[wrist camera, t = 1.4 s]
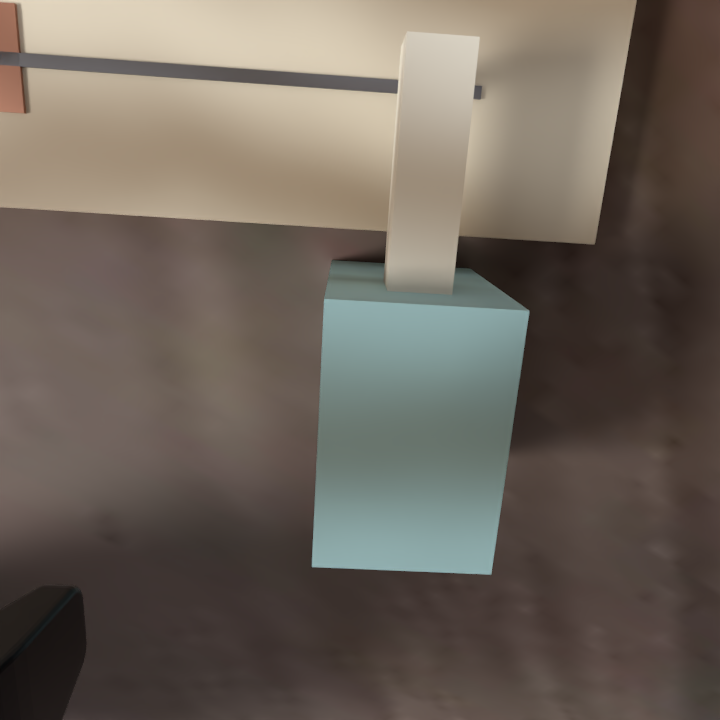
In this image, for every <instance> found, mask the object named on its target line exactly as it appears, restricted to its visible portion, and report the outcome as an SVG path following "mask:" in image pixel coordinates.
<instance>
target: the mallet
mask: <svg viewBox="0 0 720 720" xmlns="http://www.w3.org/2000/svg"><path fill="white" fill-rule="evenodd" d="M479 41H480V37H477V36H464V35H450V34H437V33H424V32H410V31H407V33H406V35H405V38H404V40H403V43H402V46H401V53H400V66H399V80H398V93H397V106H396V120H395V133H394V147H393V160H392V174H391V187H390V201H389V214H388V228H387V241H386V255H385V263H371V262H355V261H338V260H332V263H331V268H330V273H329V278H328V283H327V288H326V293H325V298H324V315H323V336H322V358H321V379H320V400H319V422H318V443H317V465H316V486H315V507H314V529H313V550H312V567H323V568H347V569H370V570H394V571H418V572H442V573H465V574H489V575H491V573H492V566H493V559H494V552H495V545H496V538H497V531H498V525H499V518H500V511H501V504H502V497H503V490H504V483H505V476H506V469H507V463H508V456H509V449H510V442H511V435H512V428H513V421H514V414H515V407H516V401H517V394H518V387H519V380H520V373H521V366H522V359H523V352H524V345H525V339H526V332H527V325H528V318H529V310H528V309H526V308H525V307H523V306H522V305H521V304H519V303H518V302H516V301H515V300H514V299H512V298H511V297H509V296H508V295H507V294H505V293H504V292H502V291H501V290H500V289H498V288H497V287H495V286H494V285H492V284H491V283H490V282H488V281H487V280H485V279H484V278H483V277H481V276H480V275H478V274H477V273H476V272H474V271H473V270H471V269H470V268H455V264H456V255H457V246H458V236H459V227H460V218H461V208H462V199H463V190H464V181H465V171H466V162H467V153H468V143H469V134H470V125H471V115H472V106H473V97H474V87H475V78H476V69H477V60H478V50H479Z"/></svg>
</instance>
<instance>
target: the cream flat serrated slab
mask: <svg viewBox="0 0 720 720" xmlns="http://www.w3.org/2000/svg"><path fill="white" fill-rule="evenodd" d="M636 1H637V0H0V207H8V208H24V209H40V210H56V211H72V212H87V213H103V214H119V215H135V216H151V217H167V218H183V219H199V220H215V221H231V222H247V223H263V224H278V225H294V226H310V227H326V228H342V229H358V230H374V231H387V228H388V214H389V201H390V187H391V174H392V160H393V147H394V133H395V120H396V106H397V93H398V80H399V66H400V53H401V46H402V43H403V40H404V38H405V35H406V33H407V31H410V32H424V33H437V34H450V35H464V36H477V37H480V41H479V50H478V60H477V69H476V78H475V87H474V97H473V106H472V115H471V125H470V134H469V143H468V153H467V162H466V171H465V181H464V190H463V199H462V208H461V218H460V227H459V236H469V237H485V238H501V239H517V240H533V241H549V242H565V243H581V244H595V240H596V235H597V229H598V223H599V217H600V211H601V205H602V200H603V194H604V188H605V182H606V176H607V170H608V165H609V159H610V153H611V147H612V141H613V135H614V130H615V124H616V118H617V112H618V106H619V100H620V95H621V89H622V83H623V77H624V71H625V65H626V60H627V54H628V48H629V42H630V36H631V30H632V25H633V19H634V13H635V7H636Z"/></svg>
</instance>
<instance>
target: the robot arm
mask: <svg viewBox="0 0 720 720" xmlns="http://www.w3.org/2000/svg"><path fill="white" fill-rule="evenodd" d="M85 653H86V630H85V618H84V606H83V596H82V592H81V590H80V589H79V588H78V587H77V586H74V585H54V584H47V585H42V586H40V587H38V588H36V589H35V590H33V591H31V592H30V593H28V594H26V595H24V596H23V597H21V598H19V599H18V600H16V601H14V602H13V603H11V604H9V605H7V606H6V607H4V608H2V609H1V610H0V720H62V719H63V716H64V713H65V711H66V708H67V705H68V703H69V700H70V697H71V695H72V692H73V689H74V687H75V684H76V681H77V679H78V676H79V673H80V671H81V668H82V665H83V662H84V658H85Z"/></svg>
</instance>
